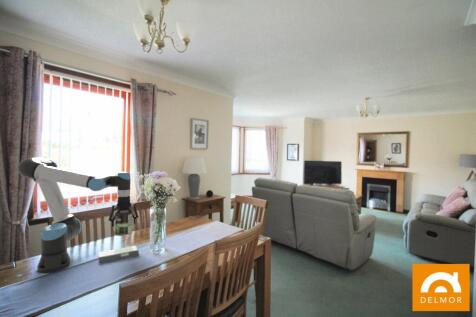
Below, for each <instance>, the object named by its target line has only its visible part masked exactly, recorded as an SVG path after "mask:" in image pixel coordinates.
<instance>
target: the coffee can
mask: <svg viewBox="0 0 476 317" xmlns="http://www.w3.org/2000/svg"><path fill="white" fill-rule="evenodd" d="M116 212H117V211H114V215H116V219H115V220H114V221H115V232H114V235H115V236H116V237H117V236H118V237H124V236H129V235H131V234H133V229H132V218H133V217H132V213H133V212H134V210H131V212H129V211H128V210H123V211H120V212H119V213H116ZM133 214H134V213H133Z"/></svg>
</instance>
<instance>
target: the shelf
mask: <svg viewBox="0 0 476 317" xmlns="http://www.w3.org/2000/svg"><path fill="white" fill-rule="evenodd" d="M139 251H140V250H138V247H137V246H136V245H132V246H127V247H121V248H120V247H119V248H114V249H108V250H103V251H98V264H100V263H105V262H106V263H107V262H111V261H115V260H116V261H117V260H121V259H126V258H132V257H136V256H137V257H139V255H140V254H139Z"/></svg>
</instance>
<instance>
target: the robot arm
mask: <svg viewBox="0 0 476 317" xmlns="http://www.w3.org/2000/svg"><path fill="white" fill-rule="evenodd" d="M17 172H18V174H19V175H20V176H22V177H23V178H26V179H29V180H30V179H31V180H32V181H33V182H34V183H35V184H38V185H39V187H40V191H41V192H42V195H43V198H44V199H45V202H46V205H47V207H48V209H49V210H48V211H49V212H50V214H51V217H52V219H53V220H52V222H51V224H48V225H46V226H44V227H43V228H42V230H41V234H40V243H41V244H40V248H41V250H40V252H41V254H40V259H39V261H38V264H37V267H36V270H37V272H38V273H41V274H47V273H49V274H50V273H55V272H58V271H61V270H64V269H66V268H67V267H69V266H70V265H71V262H72V260H71V257H70V254H69V253H68V242H69V241H70V240H72V239H74V238H75V237H77V236H78V235H79V234H80V233H81V230H82V228H83V227H82V222H81V221H80V220H79V219H77V218H76V217H75V215H74V214H73V213H72V214H71V212H70V211H69V208H68V206H67V203H66V201H65V199H64V196H63V194H62V191H61V188H60V186H59V184H58V183H61V184H65V185H71V186H77V187H81V188H86V189H89V190H91V191H92V192H99V191H102V190H105V189H107V188H115V187H116V188H117V199H116V200H117V201H116V202H117V203H116V204H112V205H111V209H110V210H111V211H110V214H109V216H108V221H109V222H111V227H113V232H114V233H115V219H116V215H115V214H114V213H115V212H116V213H119V212H120V211H123V210H128V211H129V212H131V211H132V210H131V209H130V207H132V208H133V212H134V213H132V230H134V229H135V226H134V225H135V224H136V219H138V218H139V214H138V210H137V208H136V205H137V204H136V203H135V202H133V203H132V202H131V179H132V178H131V172H129V171H118V172H117V174H116V175H115V174H100V175H97V176H96V175H91V174H88V173H82V172H77V171H73V170H68V169H62V168H58V164H57V162H56V161H55V160H54V159H52V158H50V157H43V156H42V157H27V158H24V159H22V160H21V161H20V162H19V163H18V164H17ZM116 208H118V209H117V211H115V209H116ZM134 214H135V215H134Z"/></svg>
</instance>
